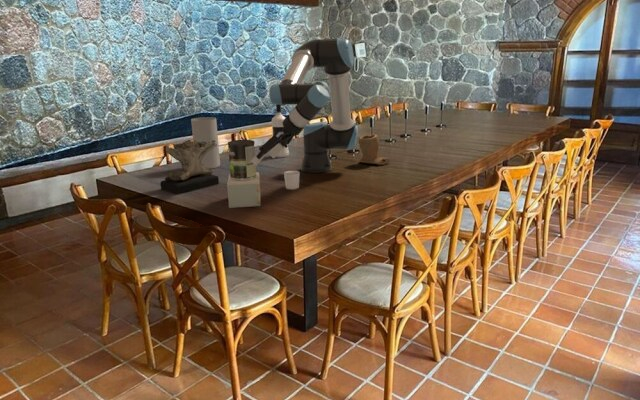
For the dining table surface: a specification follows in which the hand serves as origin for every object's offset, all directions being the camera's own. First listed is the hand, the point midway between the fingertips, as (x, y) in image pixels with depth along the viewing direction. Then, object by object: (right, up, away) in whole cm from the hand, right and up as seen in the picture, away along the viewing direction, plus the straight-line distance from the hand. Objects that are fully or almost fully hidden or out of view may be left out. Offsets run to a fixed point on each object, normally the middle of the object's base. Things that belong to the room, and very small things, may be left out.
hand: (262, 159), depth 193 cm
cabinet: (-8, -16, +9) cm, 20 cm away
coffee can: (-8, -7, +6) cm, 12 cm away
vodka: (0, +9, +92) cm, 93 cm away
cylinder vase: (-37, +2, +71) cm, 80 cm away
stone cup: (+49, +3, +68) cm, 84 cm away
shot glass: (+10, -10, +27) cm, 31 cm away
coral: (-33, -10, +32) cm, 47 cm away
